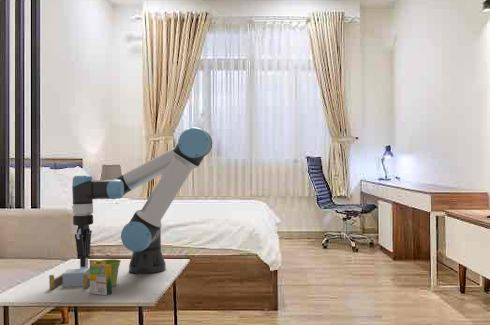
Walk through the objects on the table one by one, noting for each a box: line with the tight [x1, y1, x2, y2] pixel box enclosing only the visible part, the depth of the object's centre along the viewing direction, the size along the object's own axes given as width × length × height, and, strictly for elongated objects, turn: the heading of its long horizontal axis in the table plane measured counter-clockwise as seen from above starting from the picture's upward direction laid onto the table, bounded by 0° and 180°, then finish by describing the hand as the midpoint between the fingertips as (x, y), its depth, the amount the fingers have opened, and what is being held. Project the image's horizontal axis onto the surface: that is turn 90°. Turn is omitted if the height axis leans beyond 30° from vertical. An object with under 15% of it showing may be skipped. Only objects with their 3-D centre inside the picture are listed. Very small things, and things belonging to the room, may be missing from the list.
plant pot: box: [94, 258, 122, 287], centre depth 180 cm, size 9×9×9 cm
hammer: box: [48, 274, 90, 291], centre depth 183 cm, size 14×14×5 cm
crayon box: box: [88, 259, 113, 296], centre depth 168 cm, size 7×3×12 cm, turn 65°
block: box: [61, 267, 90, 288], centre depth 185 cm, size 8×8×5 cm
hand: (84, 274), depth 193 cm, fingers closed
